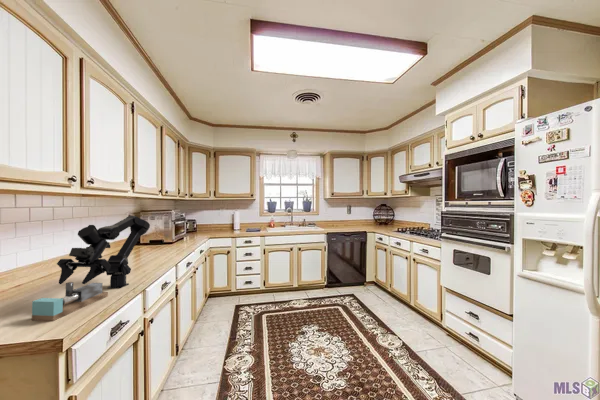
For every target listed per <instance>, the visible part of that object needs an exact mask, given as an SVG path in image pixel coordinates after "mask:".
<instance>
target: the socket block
mask: <svg viewBox="0 0 600 400" xmlns="http://www.w3.org/2000/svg"><path fill="white" fill-rule="evenodd" d="M31 306H32V307H31V316H32V315H42V316H54V315H57V314H59V313H61V312H63V297H60V298H59V297H57V298H56V297H55V298H54V297H53V298H52V297H41V298H38V299H35V300H32V303H31Z"/></svg>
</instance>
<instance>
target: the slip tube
mask: <svg viewBox="0 0 600 400" xmlns="http://www.w3.org/2000/svg"><path fill="white" fill-rule="evenodd" d="M73 290H74V282H73V281H68V282H66V283H65V296H63V297H62V298H63V305H65V304H67V303H70V302H72V301H75V300H77V299H80V298H81V292H76V293H73Z"/></svg>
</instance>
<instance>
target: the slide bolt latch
mask: <svg viewBox="0 0 600 400" xmlns="http://www.w3.org/2000/svg"><path fill="white" fill-rule="evenodd" d="M76 292H81V298H80V299H77V300H75V301H72V302H70V303H67V304H65V305H63V312H61V313H59V314H57V315H54V316H42V315H32V314H31V321H38V322H39V321H43V322H53V321H56V320H58V319H61V318H63V317H66V316H67V315H70V314H72V313H74V312H76V311H78V310H80V309H83V308H85V307H87V306H89V305H91V304H93V303H96V302H98V301H100V300H102V299H104V298H107V297H108V296H109V292H108V291H103V282H91V283H89V284H86V285H85V284H84V285H83V286H80V287H77V288H75V289H74V288H73V293H76Z"/></svg>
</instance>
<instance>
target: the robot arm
mask: <svg viewBox="0 0 600 400" xmlns="http://www.w3.org/2000/svg"><path fill="white" fill-rule="evenodd" d="M150 224H151V223H149V222H148V220H147V221H146V219H142V218H141V217H138V216H136V215H134V216H133V215H130V216H129V215H128V216H126V218H124V219H121V220H119V221H118V222H116V223H114V224H111V225H105V226H102V227H99V228H97V227H96V225H95V224H88V225H87V226H85V227H83V228H82V229H79V231H78V232H77V236H78V237H79V238H80V239H81V240H82V241H83V242H84V243H85V245H89V246H85V247H83V248H82V247H72V248H71V250H70V252H69V255H68V256H69V257H74V259H75V260H76V261H74V260H73V259H72V258H61V259H59V260H58V261H57V262H56V265H57V266H58V268H60V269H61V270H60V271H61V272H60V276H59V280H58V284H59V285H62V284H64V282H66V281H67V280H68V279H69V278H70V277H71V276H72V275H73V274H75V270H77V269H78V268H89V271H88V272H87V274H86V276H85V277H84V278H83V280H82V282H81V283H82V285H85V284H86V285H87V283H89V282H90V281H92V280H93V279H95V278H97V277H98V276H100V275H102V274H104V273H106V276H110V281H109V283H110V284H109V285H110V286H108V287H107V289H117V290H118V289H119V290H120V289H122V288H124V287H127V286H128V285H130V283H127V275H130V274H131V270H132V268H131V267H130V265H128V264H129V260H128V258H129V256H131V255H130V254H131V253H132V251H133V250H134V248H135V246H136V244H137V243H138V241H139V240H140V237H141V236H143V235H145V234H146V233H147V232H148V231H149V229H150V226H151V225H150ZM129 228H130V234H129V235H128V237H127V238H126V239H125V242H124V243H123V245H122V246H121V248H120V249H119V250H118V253H117V254H115V255H114V254H113V255H110V256H109V258H108V259H106V258H103V256H102V254H103V253H104V251H105V250H106V249H110V248H111V244H110V242H109V241H113V240H116V239H117V238H118V237H119V236H120V233H122V232H123V231H125V230H126V229H129Z"/></svg>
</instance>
